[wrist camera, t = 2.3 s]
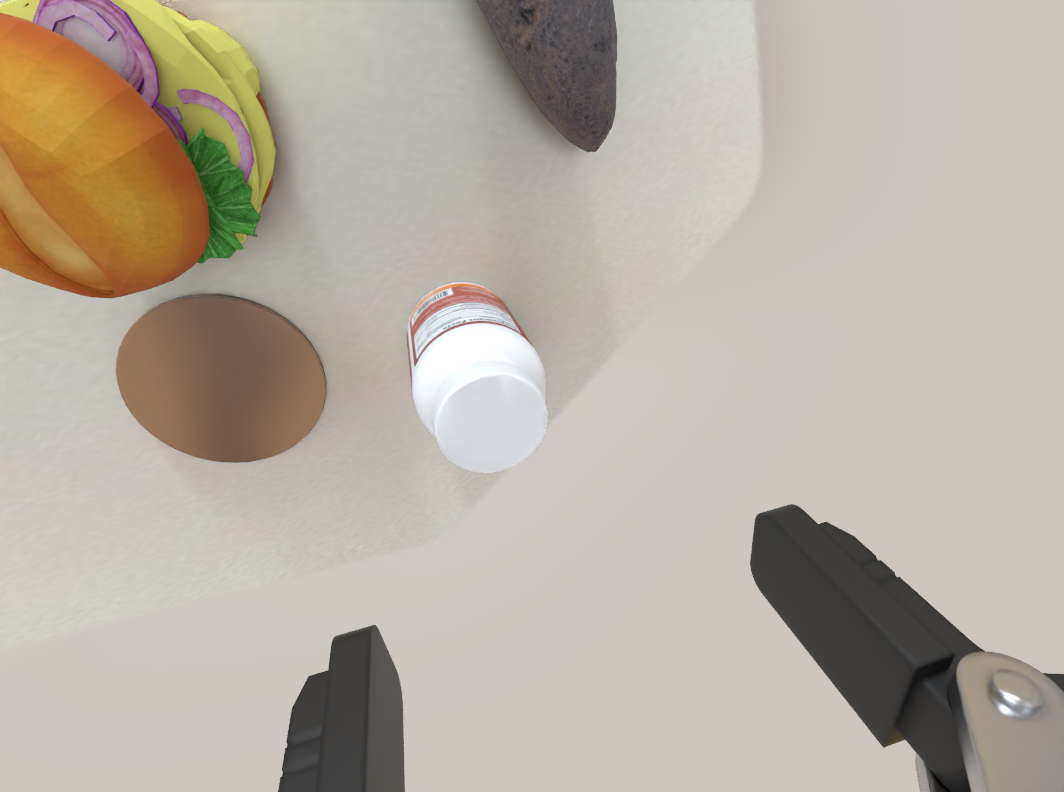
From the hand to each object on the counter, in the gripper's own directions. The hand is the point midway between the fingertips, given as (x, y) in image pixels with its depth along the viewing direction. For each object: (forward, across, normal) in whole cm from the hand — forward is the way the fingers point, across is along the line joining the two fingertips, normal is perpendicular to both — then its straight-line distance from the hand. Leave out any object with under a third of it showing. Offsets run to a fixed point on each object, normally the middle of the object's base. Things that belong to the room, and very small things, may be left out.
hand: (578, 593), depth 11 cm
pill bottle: (+22, 0, +2) cm, 22 cm away
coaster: (+22, +13, +2) cm, 25 cm away
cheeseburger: (+22, +12, -9) cm, 26 cm away
